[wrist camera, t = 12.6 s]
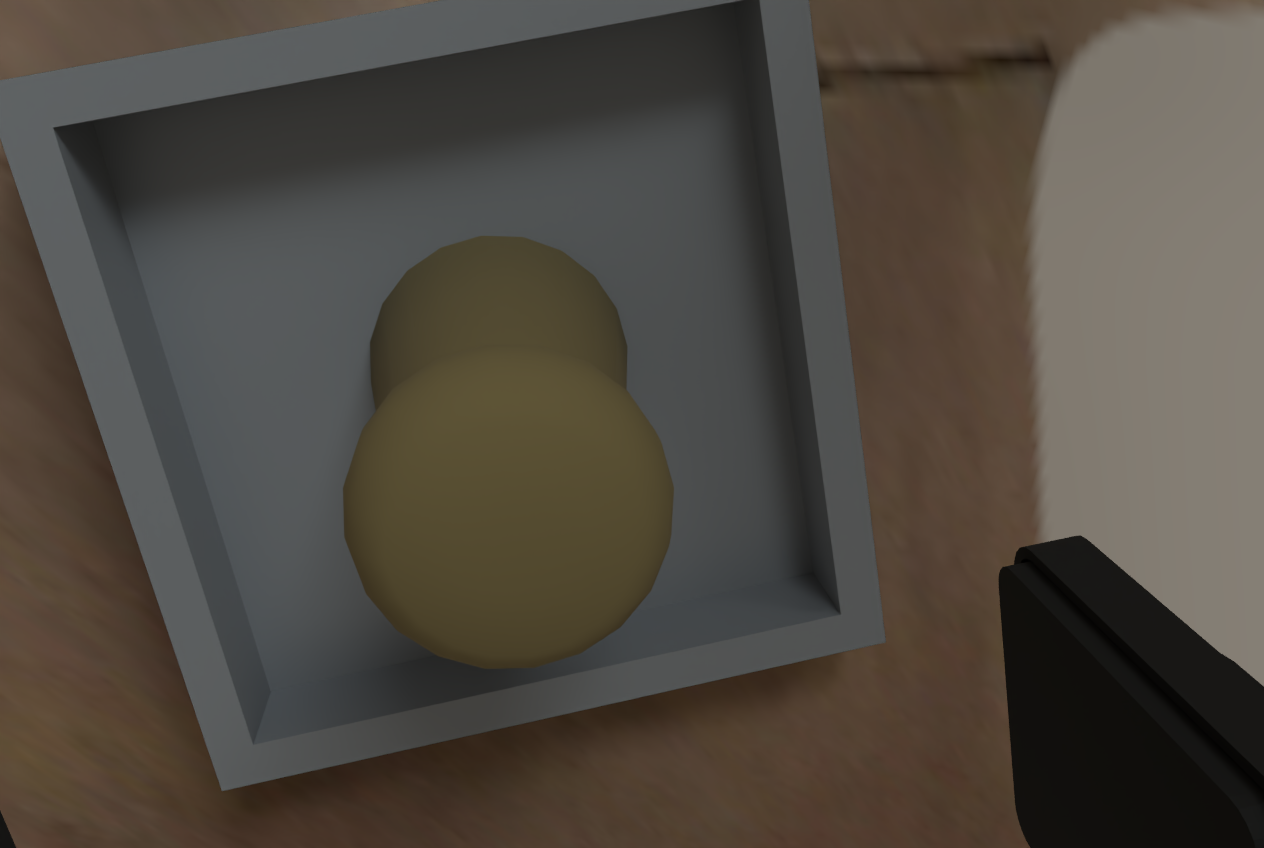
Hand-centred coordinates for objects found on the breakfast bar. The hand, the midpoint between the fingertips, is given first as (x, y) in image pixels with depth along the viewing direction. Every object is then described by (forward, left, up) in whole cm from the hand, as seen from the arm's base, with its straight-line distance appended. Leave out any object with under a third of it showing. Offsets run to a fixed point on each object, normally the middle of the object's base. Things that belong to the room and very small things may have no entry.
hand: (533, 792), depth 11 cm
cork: (0, 0, -18) cm, 18 cm away
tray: (0, 0, -18) cm, 18 cm away
